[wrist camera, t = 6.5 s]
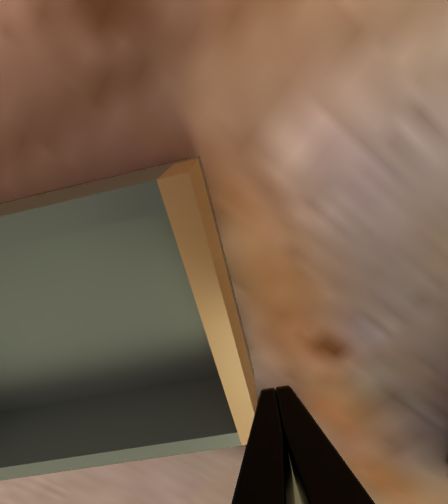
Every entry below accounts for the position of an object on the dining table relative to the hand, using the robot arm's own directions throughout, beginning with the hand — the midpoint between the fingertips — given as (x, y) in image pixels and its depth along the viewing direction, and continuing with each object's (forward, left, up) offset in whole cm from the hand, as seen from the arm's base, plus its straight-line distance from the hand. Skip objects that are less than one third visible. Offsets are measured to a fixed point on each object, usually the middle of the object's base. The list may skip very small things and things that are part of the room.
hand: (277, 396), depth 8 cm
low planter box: (+10, 0, -8) cm, 13 cm away
